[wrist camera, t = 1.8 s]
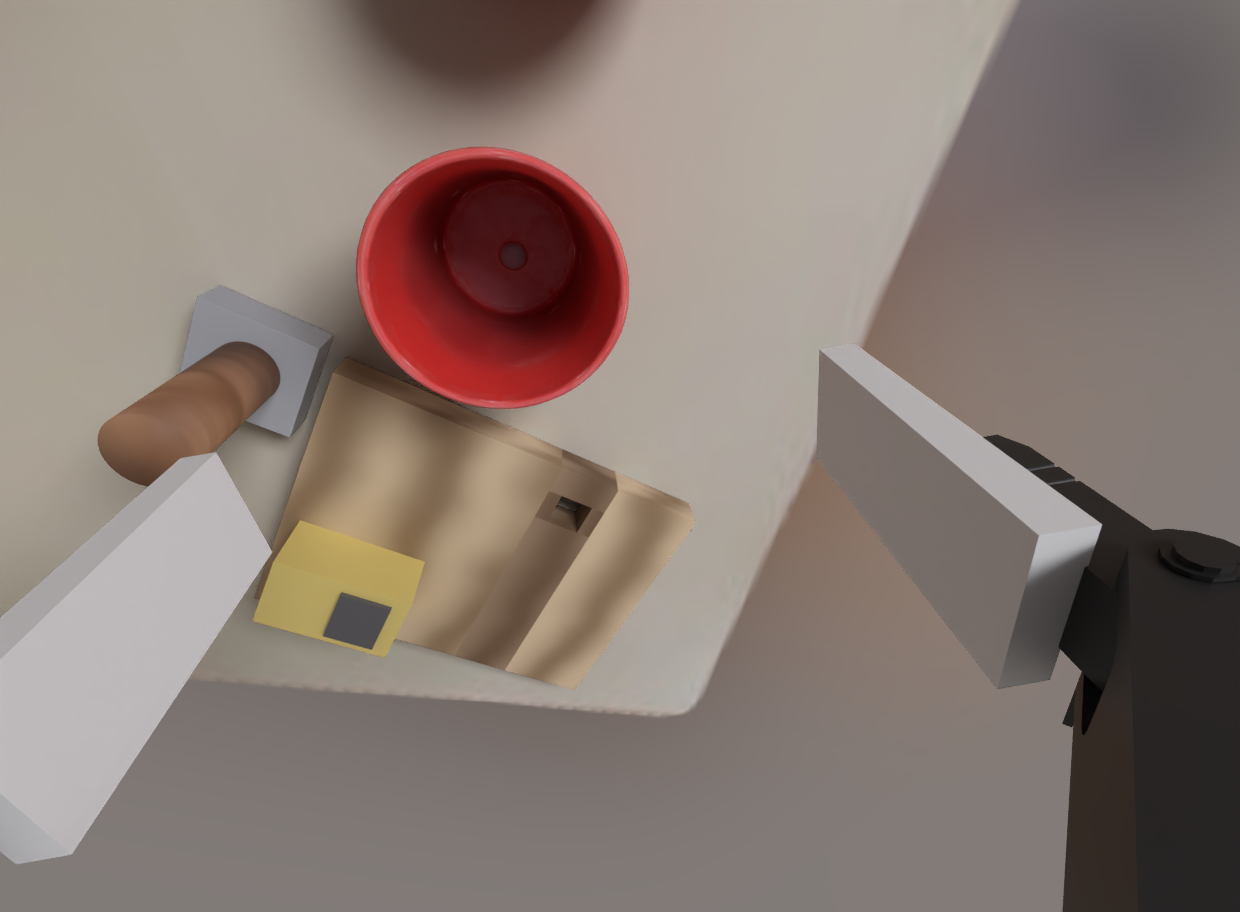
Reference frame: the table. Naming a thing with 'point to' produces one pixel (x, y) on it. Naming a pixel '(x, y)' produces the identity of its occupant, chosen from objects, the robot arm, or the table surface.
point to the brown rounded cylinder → (189, 412)
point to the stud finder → (339, 590)
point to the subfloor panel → (483, 525)
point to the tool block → (275, 333)
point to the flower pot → (492, 278)
